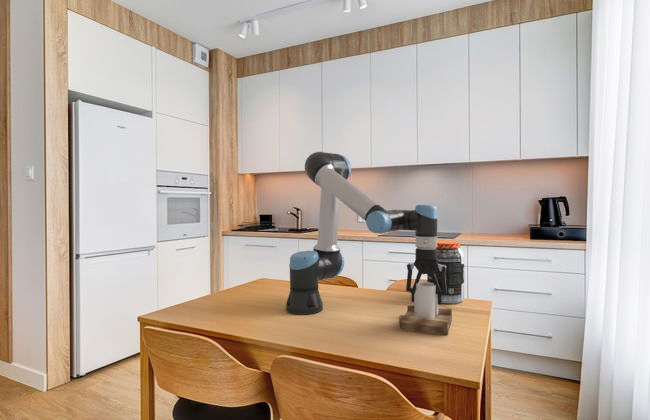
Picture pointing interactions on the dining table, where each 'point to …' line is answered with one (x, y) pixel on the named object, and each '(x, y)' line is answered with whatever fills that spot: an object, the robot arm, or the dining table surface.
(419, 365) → the dining table surface
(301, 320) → the dining table surface
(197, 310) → the dining table surface
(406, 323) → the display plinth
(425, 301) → the mug
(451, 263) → the supplement tub
